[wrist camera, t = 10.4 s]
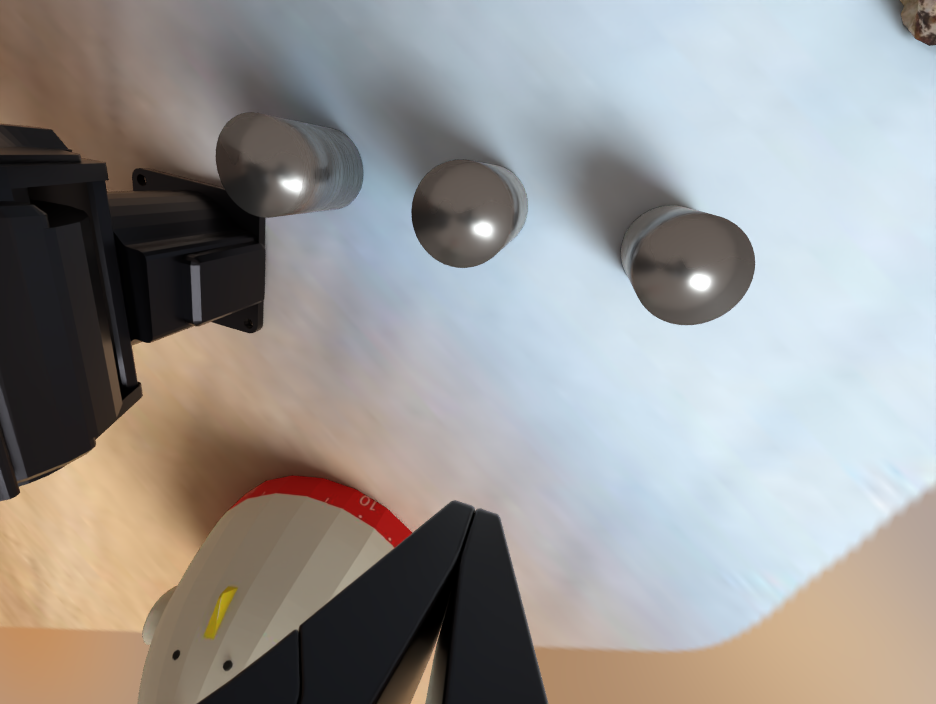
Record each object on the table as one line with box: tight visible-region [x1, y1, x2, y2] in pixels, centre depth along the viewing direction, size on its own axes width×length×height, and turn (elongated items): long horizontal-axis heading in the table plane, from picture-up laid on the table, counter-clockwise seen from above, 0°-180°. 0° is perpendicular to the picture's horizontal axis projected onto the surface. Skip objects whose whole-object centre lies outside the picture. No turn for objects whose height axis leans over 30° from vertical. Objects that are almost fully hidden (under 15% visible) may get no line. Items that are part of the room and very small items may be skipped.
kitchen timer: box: [138, 475, 412, 704], centre depth 21 cm, size 14×14×15 cm
